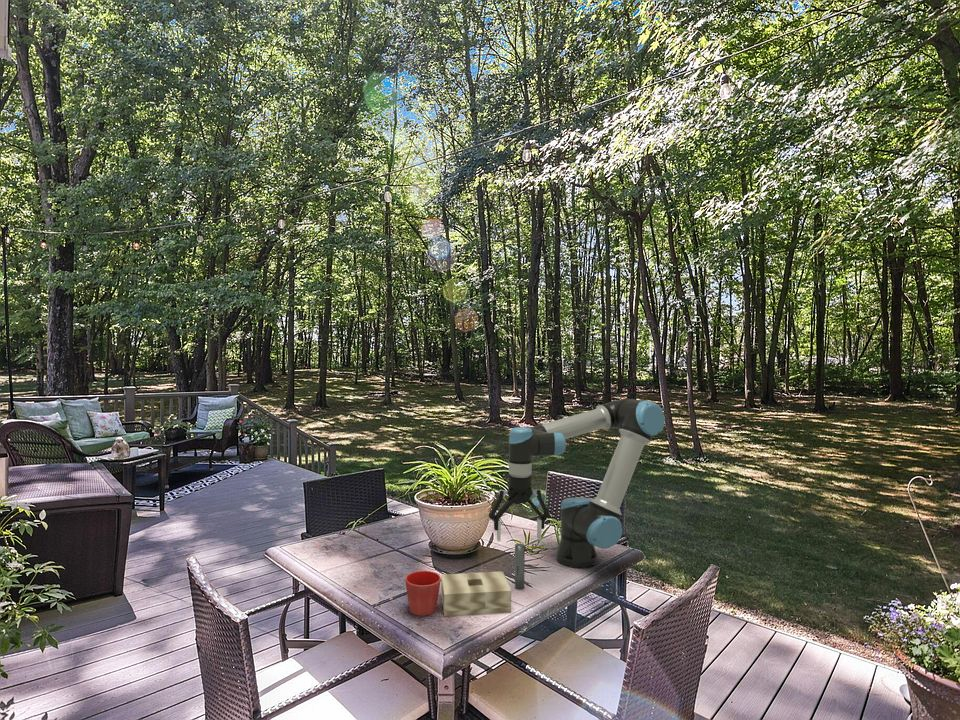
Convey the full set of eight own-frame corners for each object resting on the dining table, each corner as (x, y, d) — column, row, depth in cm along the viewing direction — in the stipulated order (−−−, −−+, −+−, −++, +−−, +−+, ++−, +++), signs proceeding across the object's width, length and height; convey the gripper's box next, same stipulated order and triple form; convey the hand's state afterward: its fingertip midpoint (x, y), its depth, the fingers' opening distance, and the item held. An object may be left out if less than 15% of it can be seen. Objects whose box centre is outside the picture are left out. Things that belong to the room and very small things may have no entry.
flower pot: (441, 600, 164) (441, 569, 164) (439, 618, 153) (440, 585, 153) (407, 601, 164) (407, 570, 163) (403, 619, 153) (403, 585, 152)
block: (502, 591, 171) (502, 571, 171) (511, 612, 157) (511, 590, 157) (441, 594, 168) (441, 574, 168) (444, 616, 154) (444, 594, 154)
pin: (523, 585, 175) (523, 543, 175) (525, 589, 172) (525, 546, 172) (513, 585, 175) (514, 543, 175) (515, 589, 172) (516, 547, 171)
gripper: (553, 472, 178) (552, 534, 178) (481, 473, 175) (479, 536, 175) (560, 477, 171) (558, 542, 171) (484, 478, 168) (483, 544, 168)
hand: (518, 539), depth 173 cm, fingers open, 13 cm apart
